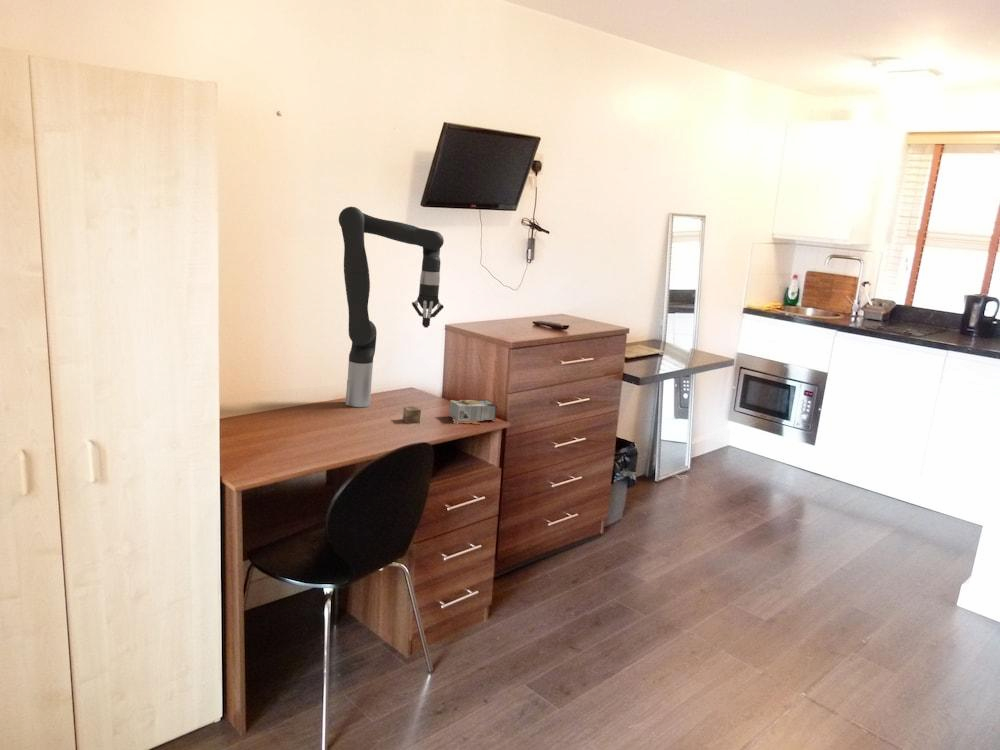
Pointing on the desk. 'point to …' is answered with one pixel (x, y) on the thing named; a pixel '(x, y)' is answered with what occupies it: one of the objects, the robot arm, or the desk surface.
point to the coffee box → (472, 410)
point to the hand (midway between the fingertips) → (425, 327)
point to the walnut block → (411, 414)
